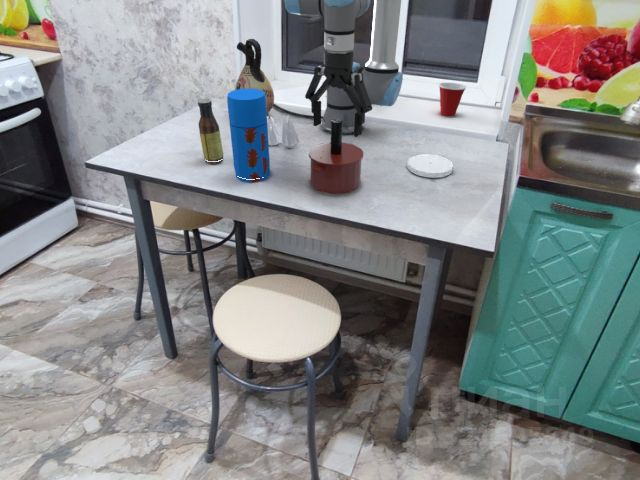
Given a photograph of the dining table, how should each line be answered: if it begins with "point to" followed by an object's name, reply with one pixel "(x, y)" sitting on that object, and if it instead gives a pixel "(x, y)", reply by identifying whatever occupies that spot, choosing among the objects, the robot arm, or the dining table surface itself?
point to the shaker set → (288, 133)
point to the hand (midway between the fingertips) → (337, 130)
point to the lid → (336, 149)
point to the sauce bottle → (209, 133)
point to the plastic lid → (430, 165)
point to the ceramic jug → (254, 72)
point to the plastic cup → (450, 98)
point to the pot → (335, 178)
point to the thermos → (249, 134)
